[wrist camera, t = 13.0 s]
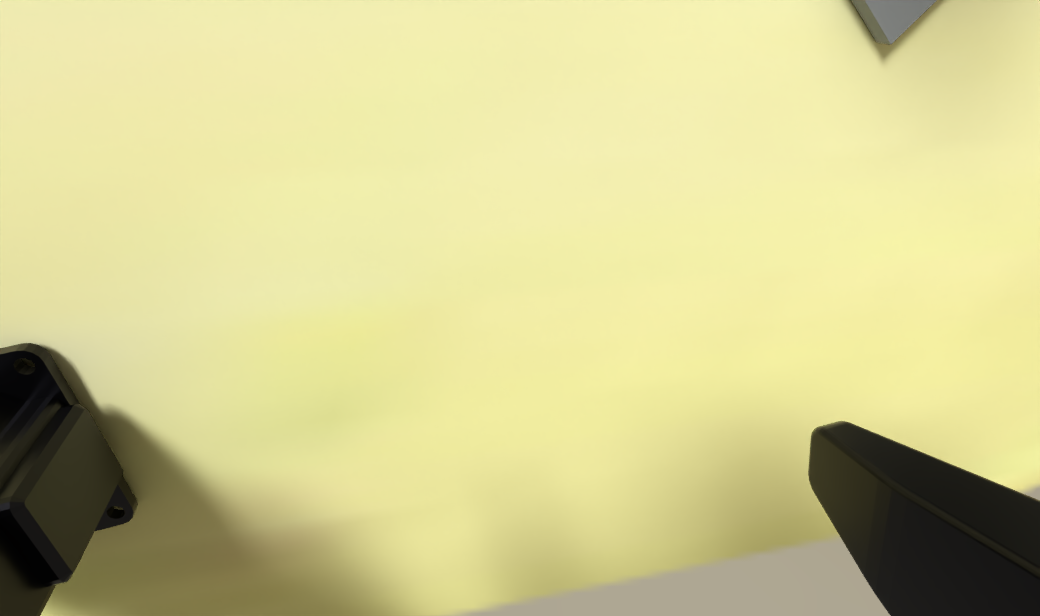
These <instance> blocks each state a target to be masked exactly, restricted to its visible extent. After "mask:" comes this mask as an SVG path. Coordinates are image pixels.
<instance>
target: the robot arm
mask: <svg viewBox="0 0 1040 616" xmlns="http://www.w3.org/2000/svg"><path fill="white" fill-rule="evenodd" d="M21 358H26V359H28V360H31V361H32V362H33V363H34V364H35V367H30V366H27V365H25V364H24V363H23V362H22V361H21ZM122 474H123V469H122V467H121V466H120V464H119V462H118V461H117V459H116V457H115V456H114V454H113V452H112V450H111V449H110V447H109V445H108V444H107V442H106V440H105V439H104V437H103V435H102V434H101V432H100V430H99V428H98V427H97V425H96V423H95V422H94V420H93V418H92V417H91V415H90V413H89V412H88V410H87V409H86V408H84V407H83V406H81V405H80V404H79V402H78V400H77V399H76V397H75V395H74V394H73V392H72V390H71V389H70V387H69V385H68V384H67V382H66V380H65V379H64V377H63V375H62V373H61V372H60V370H59V368H58V367H57V365H56V363H55V362H54V360H53V358H52V357H51V355H50V354H49V353H48V352H47V350H46V349H44V348H43V347H41V346H39V345H36V344H32V343H24V344H18V345H14V346H9V347H5V348H0V616H40V615H41V613H42V611H43V609H44V607H45V605H46V603H47V601H48V599H49V597H50V596H51V594H52V592H53V590H54V588H55V586H56V585H57V584H61V583H64V582H67V581H68V580H69V579H70V578H71V576H72V574H73V573H74V571H75V569H76V567H77V565H78V563H79V561H80V559H81V557H82V555H83V553H84V551H85V549H86V547H87V545H88V543H89V541H90V539H91V537H92V535H93V533H94V531H97V530H101V529H105V528H109V527H113V526H117V525H121V524H124V523H126V522H129V521H130V520H131V519H132V518H133V515H134V513H135V511H136V508H137V505H138V503H137V500H136V498H135V496H134V495H133V493H132V491H131V489H130V488H129V486H128V484H127V483H126V481H125V479H124V478H123V476H122ZM808 475H809V481H810V484H811V487H812V489H813V491H814V493H815V495H816V496H817V498H818V500H819V502H820V503H821V505H822V507H823V508H824V510H825V512H826V513H827V515H828V517H829V518H830V520H831V522H832V523H833V525H834V527H835V528H836V530H837V532H838V533H839V535H840V537H841V538H842V540H843V542H844V544H845V545H846V547H847V548H848V550H849V552H850V554H851V555H852V557H853V558H854V560H855V562H856V564H857V565H858V567H859V569H860V570H861V572H862V574H863V575H864V577H865V578H866V580H867V582H868V583H869V585H870V586H871V588H872V589H873V591H874V593H875V594H876V595H877V597H878V598H879V600H880V601H881V603H882V604H883V606H884V607H885V608H886V610H887V611H888V613H889V614H890V615H891V616H1040V501H1039V500H1037V499H1035V498H1032V497H1030V496H1027V495H1025V494H1022V493H1020V492H1017V491H1015V490H1013V489H1010V488H1008V487H1005V486H1003V485H1000V484H998V483H995V482H993V481H991V480H988V479H986V478H983V477H981V476H978V475H976V474H974V473H971V472H969V471H966V470H964V469H961V468H959V467H956V466H954V465H952V464H949V463H947V462H944V461H942V460H939V459H937V458H935V457H932V456H930V455H927V454H925V453H922V452H920V451H917V450H915V449H913V448H910V447H908V446H905V445H903V444H900V443H898V442H895V441H893V440H891V439H888V438H886V437H883V436H881V435H878V434H876V433H874V432H871V431H869V430H866V429H864V428H861V427H859V426H856V425H854V424H852V423H849V422H845V421H838V422H835V423H831V424H827V425H823V426H820V427H817V428H815V429H814V431H813V432H812V435H811V443H810V457H809V470H808ZM113 506H118V507H121V508H122V509H121V510H118V509H115V508H114V507H113Z"/></svg>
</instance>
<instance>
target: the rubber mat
mask: <svg viewBox="0 0 1040 616" xmlns="http://www.w3.org/2000/svg"><path fill="white" fill-rule="evenodd" d="M851 1H852V2H853V4H854V6H855V7H856V9H857V11H858V12H859V14H860V16H861V17H862V19H863V21H864V22H865V24H866V26H867V27H868V29H869V31H870V32H871V34H872V36H873V37H874V39H875V41H876V42H877V43H884V44H892V43H893V42H894V41H895V40H896V39H897V38H898V37H899V36H900V35H901V34H902V33H903V32H904V31H906V30H907V29H908V28H909V27H910V26H911V25H912V24H913V23H914V22H915V21H916V20H917V19H918V18H919V17H920V16H921V15H922V14H923V13H924V12H925V11H926V10H927V9H928V8H929V7H930V6H931V5H933V4H934V3H935V2H936V1H937V0H851Z"/></svg>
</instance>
